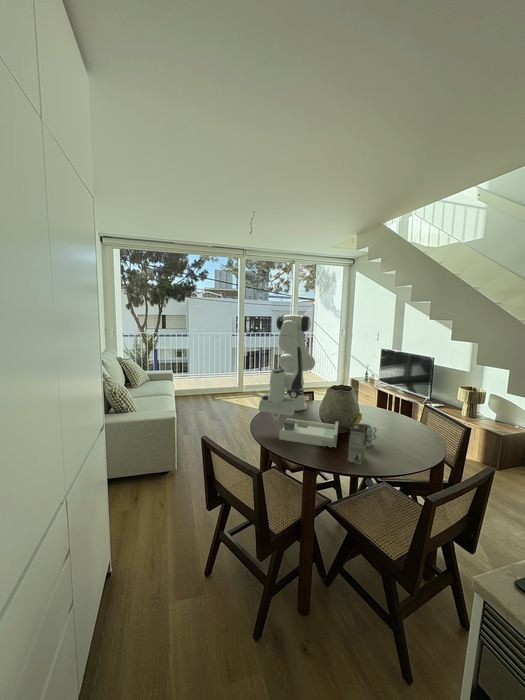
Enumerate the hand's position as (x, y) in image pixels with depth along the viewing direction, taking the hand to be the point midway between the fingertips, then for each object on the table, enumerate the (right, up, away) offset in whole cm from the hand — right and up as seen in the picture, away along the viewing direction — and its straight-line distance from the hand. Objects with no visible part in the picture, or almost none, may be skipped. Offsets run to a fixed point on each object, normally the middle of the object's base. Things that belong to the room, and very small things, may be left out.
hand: (275, 420), depth 174 cm
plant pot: (+47, -7, +10) cm, 48 cm away
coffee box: (+37, -12, -29) cm, 49 cm away
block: (+8, -4, -1) cm, 9 cm away
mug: (+48, -10, -11) cm, 50 cm away
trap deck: (+19, -8, -4) cm, 21 cm away
